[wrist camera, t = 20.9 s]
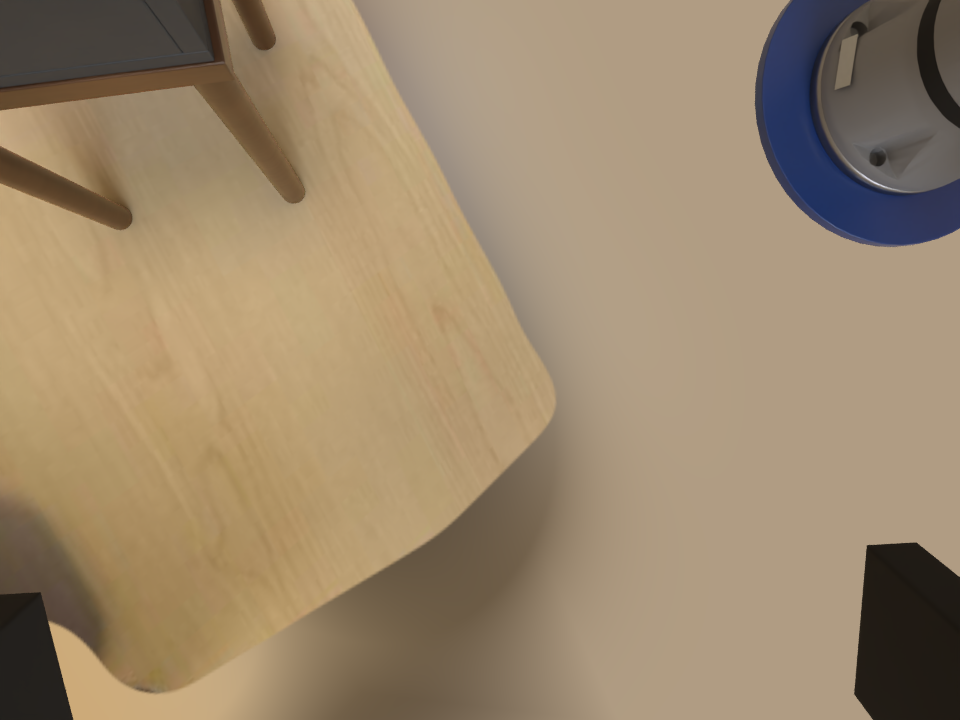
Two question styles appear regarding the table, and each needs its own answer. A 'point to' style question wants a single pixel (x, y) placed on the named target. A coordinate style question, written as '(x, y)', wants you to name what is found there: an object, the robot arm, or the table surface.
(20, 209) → the table surface
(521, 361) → the table surface
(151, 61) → the trash bin
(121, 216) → the stool
